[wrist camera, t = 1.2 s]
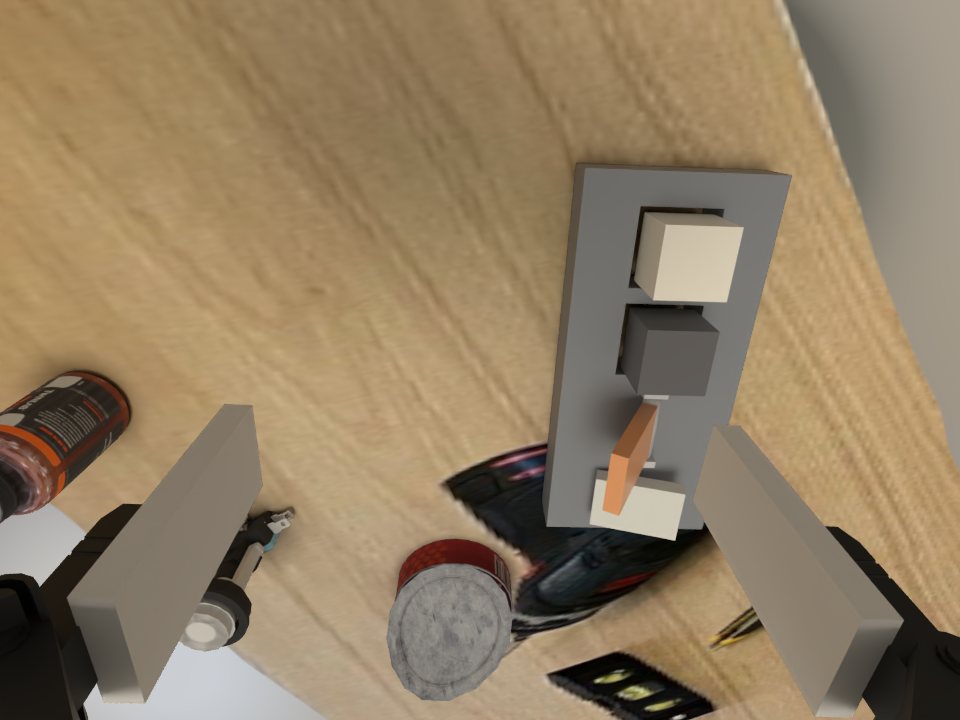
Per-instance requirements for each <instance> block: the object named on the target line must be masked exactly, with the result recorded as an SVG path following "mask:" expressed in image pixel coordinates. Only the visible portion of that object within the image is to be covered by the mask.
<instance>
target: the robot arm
mask: <svg viewBox="0 0 960 720" xmlns="http://www.w3.org/2000/svg"><path fill="white" fill-rule="evenodd" d="M262 486H263V483H262V475H261V468H260V460H259V452H258V445H257V437H256V429H255V422H254V414H253V406H252V405H234V404H224V405H223V406H222V408H221V409H220V410H219V411H218V413H217V414H216V415H215V416H214V417H213V419H212V420H211V421H210V422H209V424H208V425H207V426H206V427H205V429H204V430H203V431H202V432H201V433H200V435H199V436H198V437H197V438H196V440H195V441H194V442H193V443H192V444H191V446H190V447H189V448H188V449H187V451H186V452H185V453H184V454H183V456H182V457H181V458H180V459H179V460H178V462H177V463H176V464H175V465H174V467H173V468H172V469H171V470H170V471H169V473H168V474H167V475H166V476H165V478H164V479H163V480H162V481H161V483H160V484H159V485H158V486H157V487H156V489H155V490H154V491H153V492H152V494H151V495H150V496H149V497H148V498H147V500H146V501H145V502H144V503H143V504H122V505H121V506H119V507H118V508H116V509H115V510H113V511H112V512H110V513H109V514H107V515H105V516H104V517H102V518H101V519H100V520H99V521H98V522H97V523H96V524H95V525H94V527H93V528H92V529H91V530H90V531H89V532H88V533H87V534H86V536H85V539H84V540H81V541H80V542H79V544H78V545H77V546H76V547H75V548H74V549H73V550H72V553H71V555H68V556H67V557H66V558H65V559H64V560H63V562H62V563H61V564H60V565H59V566H58V567H57V568H56V569H55V571H54V572H53V573H52V574H51V575H50V576H49V577H48V578H47V580H46V581H45V582H44V583H43V584H42V585H41V586H40V587H39V585H38V583H37V582H36V580H35V579H34V578H33V577H31V576H28V575H25V574H22V573H20V574H4V575H1V576H0V720H88V716H87V712H86V710H85V707H84V705H83V703H84V702H85V700H86V699H87V697H88V696H89V694H90V692H91V691H92V689H93V688H94V686H95V685H96V683H97V685H98V688H99V690H100V694H101V696H102V699H103V702H104V703H142V704H144V703H145V702H146V701H147V699H148V697H149V695H150V693H151V691H152V690H153V688H154V686H155V684H156V682H157V680H158V678H159V677H160V675H161V673H162V671H163V669H164V667H165V666H166V664H167V662H168V660H169V658H170V656H171V654H172V653H173V651H174V649H175V647H176V645H177V643H178V642H179V640H180V638H181V636H182V634H183V632H184V630H185V629H186V627H187V625H188V623H189V621H190V619H191V617H192V616H193V614H194V612H195V610H196V608H197V606H198V604H199V603H200V601H201V599H202V597H203V595H204V593H205V592H206V590H207V588H208V586H209V584H210V582H211V580H212V579H213V577H214V575H215V573H216V571H217V569H218V567H219V566H220V564H221V562H222V560H223V558H224V556H225V555H226V553H227V551H228V549H229V547H230V545H231V543H232V542H233V540H234V538H235V536H236V534H237V532H238V530H239V529H240V527H241V525H242V523H243V521H244V519H245V518H246V516H247V514H248V512H249V510H250V508H251V506H252V505H253V503H254V501H255V499H256V497H257V495H258V493H259V492H260V490H261V488H262ZM693 502H694V504H695V505H696V507H697V509H698V511H699V512H700V514H701V516H702V518H703V520H704V521H705V523H706V525H707V527H708V528H709V530H710V532H711V534H712V536H713V537H714V539H715V541H716V543H717V544H718V546H719V548H720V550H721V551H722V553H723V555H724V557H725V559H726V560H727V562H728V564H729V566H730V567H731V569H732V571H733V573H734V574H735V576H736V578H737V580H738V582H739V583H740V585H741V587H742V589H743V590H744V592H745V594H746V596H747V598H748V599H749V601H750V603H751V605H752V606H753V608H754V610H755V612H756V613H757V615H758V617H759V619H760V621H761V622H762V624H763V626H764V628H765V629H766V631H767V633H768V635H769V636H770V638H771V640H772V642H773V644H774V645H775V647H776V649H777V651H778V652H779V654H780V656H781V658H782V660H783V661H784V663H785V665H786V667H787V668H788V670H789V672H790V674H791V675H792V677H793V679H794V681H795V683H796V684H797V686H798V688H799V690H800V691H801V693H802V695H803V697H804V698H805V700H806V702H807V704H808V706H809V707H810V709H811V711H812V713H813V714H814V716H815V717H852V716H853V714H854V712H855V711H856V709H857V707H858V705H859V703H860V701H861V699H862V698H864V700H865V701H866V703H867V704H868V706H869V707H870V709H871V710H872V712H873V713H874V715H875V718H874V720H960V637H958V636H955V635H952V634H949V633H947V632H941V631H938V630H937V629H936V628H935V626H934V625H933V624H932V623H931V622H930V621H929V620H928V619H927V617H926V616H925V615H924V614H923V613H922V612H921V611H920V610H919V609H918V607H917V606H916V605H915V604H914V603H913V602H912V601H911V600H910V598H909V597H908V596H907V595H906V594H905V593H904V592H903V591H902V589H901V588H900V587H899V586H898V585H897V584H896V583H895V582H894V580H893V579H892V578H889V577H888V574H887V573H886V571H885V570H884V569H883V568H882V567H881V566H880V565H879V564H876V563H875V559H874V558H873V557H872V556H871V555H870V554H869V552H868V551H867V550H866V549H865V548H864V547H863V546H862V545H861V543H860V542H858V541H857V540H855V539H854V538H853V537H851V536H850V535H848V534H847V533H846V532H844V531H843V530H841V529H840V528H839V527H829V526H824V525H823V524H822V522H821V521H820V520H819V519H818V518H817V516H816V515H815V514H814V513H813V512H812V510H811V509H810V508H809V507H808V506H807V505H806V503H805V502H804V501H803V500H802V499H801V497H800V496H799V495H798V494H797V493H796V491H795V490H794V489H793V488H792V487H791V486H790V484H789V483H788V482H787V481H786V480H785V478H784V477H783V476H782V475H781V474H780V472H779V471H778V470H777V469H776V468H775V467H774V465H773V464H772V463H771V462H770V461H769V459H768V458H767V457H766V456H765V455H764V454H763V452H762V451H761V450H760V449H759V448H758V446H757V445H756V444H755V443H754V442H753V440H752V439H751V438H750V437H749V436H748V435H747V433H746V432H745V431H744V430H743V429H742V427H741V426H738V425H714V426H713V430H712V433H711V437H710V441H709V444H708V448H707V452H706V455H705V459H704V462H703V466H702V470H701V473H700V477H699V481H698V484H697V488H696V491H695V495H694V499H693Z"/></svg>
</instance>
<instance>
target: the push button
mask: <svg viewBox="0 0 960 720" xmlns="http://www.w3.org/2000/svg"><path fill="white" fill-rule="evenodd" d="M286 514H287V515H289V517H288V518H286V517H285V516H284V515H286ZM247 518H248V516H246V518H245V519H244V521H243V523H242V525H241V527H240V529H239V530H238V532H237V534H236V536H235V538H234V540H233V542H232V543H231V545H230V547H229V549H228V551H227V553H226V555H225V556H224V558H223V560H222V562H221V564H220V566H219V567H218V569H217V571H216V573H215V575H214V577H213V579H212V580H211V582H210V584H209V586H208V588H207V590H206V592H205V593H204V595H203V597H202V599H201V601H200V603H199V604H198V606H197V608H196V610H195V612H194V614H193V616H192V617H191V619H190V621H189V623H188V625H187V627H186V629H185V630H184V632H183V634H182V636H181V638H180V640H179V641H180V642H181V643H183V645H185V646H187V647H189V648H191V649H195V650H202V651H211V650H216V649H219V648H220V647H223V646H227V645H231V644H233V643H235V642H237V641H238V640H240V639H241V638H242V637H243V636H244V634H245V633H246V630H247V628H248V625H249V616H250V613H251V605H252V604H251V602H250V600H249V598H248V597H247V595H246V594H245V592H244V589H245V587H246V585H247V583H248V581H249V578H250V576H251V574H252V573H253V572H254V571H255V570H256V569H257V567H258V565H259V563H260V561H261V559H262V556H261V554H262V553H264V552H266V551H269V550H271V549H272V548H273V547H274V546H275V544H276V541H277V539H278V536H279V534H280V532H281V530H282V529H284V528H286V527H288V526H290V525H291V523H290V522H289V521H288V520H290V519H292V518H294V515H293V514H292V513H291V512H290V511H289V510H288V511H286V512H284V513H282V514H279V515H277V514H275V515H273V514H272V513H271V512H267V513H265V514H263V515H261V516H259V517H256V518H254V519H252V520H250V521H248V522H246V523H245V521H246V519H247ZM283 524H286V525H284V526H283ZM237 618H238V619H237Z"/></svg>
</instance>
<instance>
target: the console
mask: <svg viewBox="0 0 960 720" xmlns="http://www.w3.org/2000/svg"><path fill="white" fill-rule="evenodd" d="M791 178H792V175H788V174H783V173H778V172H773V171H768V170H747V169H719V168H691V167H663V166H636V165H608V164H580V163H576V169H575V179H574V189H573V199H572V209H571V219H570V229H569V239H568V249H567V259H566V269H565V278H564V288H563V298H562V308H561V318H560V328H559V338H558V348H557V358H556V368H555V378H554V387H553V397H552V407H551V417H550V427H549V437H548V447H547V457H546V467H545V477H544V487H543V496H542V504H543V509H544V515H545V520H546V526H547V527H602V526H597V525H592V524H590V514H591V507H592V500H593V494H594V487H595V480H596V473H597V470H603V471H609V465H610V458H611V453H612V451H613V450H614V448H615V446H616V445H617V443H618V442H619V440H620V438H621V437H622V435H623V433H624V432H625V430H626V429H627V427H628V425H629V424H630V422H631V420H632V419H633V417H634V415H635V414H636V412H637V411H638V409H639V407H640V406H641V404H642V402H643V398H644V399H662V402H661V408H660V413H659V418H658V423H657V428H656V433H655V438H654V444H653V449H652V454H651V457H650V458H647V460H646V462H645V465H644V467H643V469H642V471H641V473H640V475H639V477H644V478H650V479H656V480H662V481H668V482H674V483H680V484H684V487H685V494H686V495H685V500H684V504H683V508H682V512H681V517H680V521H679V525H678V529H702V526H703V522H704V520H703V518H702V516H701V514H700V512H699V511H698V509H697V507H696V505H695V504H694V502H693V499H694V495H695V491H696V488H697V484H698V481H699V477H700V473H701V470H702V466H703V462H704V459H705V455H706V452H707V448H708V444H709V441H710V437H711V433H712V430H713V426H714V425H728V424H729V420H730V417H731V413H732V409H733V405H734V401H735V397H736V393H737V389H738V385H739V381H740V377H741V373H742V370H743V366H744V362H745V358H746V354H747V350H748V346H749V342H750V338H751V334H752V330H753V326H754V323H755V319H756V315H757V311H758V307H759V303H760V299H761V295H762V291H763V287H764V283H765V280H766V276H767V272H768V268H769V264H770V260H771V256H772V252H773V248H774V244H775V240H776V236H777V233H778V229H779V225H780V221H781V217H782V213H783V209H784V205H785V201H786V197H787V193H788V189H789V186H790V182H791ZM641 206H655V207H685V208H704V209H703V214H714V215H716V216H719V217H721V218H723V219H726V220H728V221H730V222H733V223H735V224H737V225H740V226H742V227H744V229H743V234H742V238H741V242H740V247H739V251H738V255H737V260H736V264H735V268H734V273H733V277H732V282H731V286H730V290H729V295H728V299H727V302H695V301H661V300H652V299H651V298H650V297H649V296H648V295H647V293H646V292H645V291H644V290H643V289H642V288H641V287H640V286H639V285H638V284H637V283H636V282H635V281H634V276H632V275H630V273H631V267H632V260H633V253H634V247H635V240H636V234H637V227H638V220H639V214H640V207H641ZM626 303H630V304H665V305H684V309H694V310H696V311H697V312H698V313H699V314H700V315H701V316H702V317H703V318H705V319H706V320H707V321H708V322H709V323H710V324H711V325H712V326H714V327H715V328H716V329H717V330H718V331H719V332H720V334H719V338H718V343H717V347H716V351H715V356H714V360H713V364H712V369H711V373H710V377H709V382H708V386H707V390H706V395H705V396H670V395H637V394H636V392H635V391H634V389H633V387H632V386H631V384H630V382H629V380H628V379H627V377H626V375H625V374H624V372H623V370H622V369H621V360H622V357H618V353H619V346H620V340H621V333H622V326H623V320H624V313H625V306H626ZM605 528H607V527H605Z"/></svg>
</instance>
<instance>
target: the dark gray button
mask: <svg viewBox="0 0 960 720" xmlns="http://www.w3.org/2000/svg"><path fill="white" fill-rule="evenodd" d="M719 334H720V332H719V331H718V330H717V329H716V328H715V327H714V326H712V325H711V324H710V323H709V322H708V321H707V320H706V319H705V318H703V317H702V316H701V315H700V314H699V313H698V312H697V311H696V310H694V309H664V308H629V315H628V321H627V328H626V334H625V341H624V347H623V354H622V360H621V369H622V370H623V372H624V374H625V375H626V377H627V379H628V380H629V382H630V384H631V386H632V387H633V389H634V391H635V392H636V394H637V395H670V396H705V395H706V390H707V386H708V382H709V377H710V373H711V369H712V364H713V360H714V356H715V351H716V347H717V343H718V338H719Z"/></svg>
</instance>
